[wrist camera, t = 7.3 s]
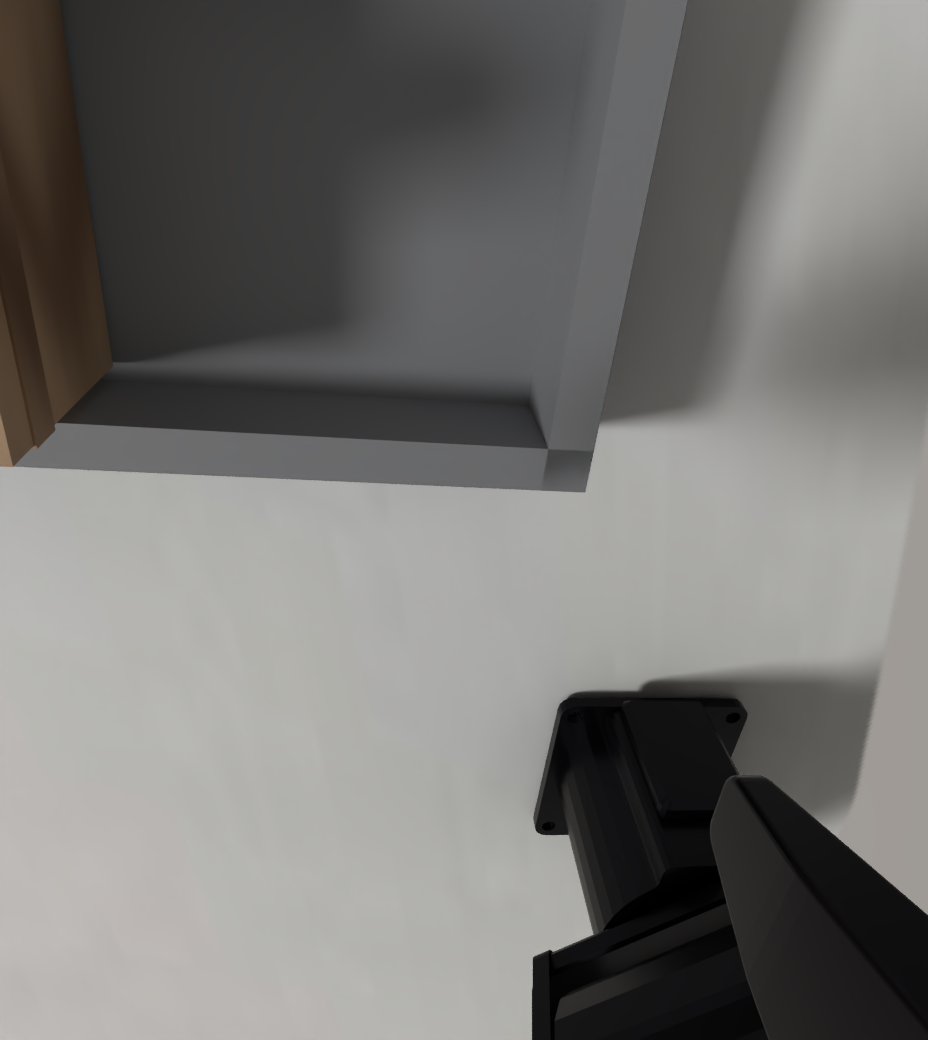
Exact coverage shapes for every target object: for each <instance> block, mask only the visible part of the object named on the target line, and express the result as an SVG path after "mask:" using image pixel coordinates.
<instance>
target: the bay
mask: <svg viewBox="0 0 928 1040" xmlns="http://www.w3.org/2000/svg"><path fill="white" fill-rule="evenodd" d="M59 2H60V9H61V16H62V22H63V29H64V36H65V43H66V50H67V56H68V63H69V70H70V77H71V84H72V90H73V97H74V104H75V111H76V118H77V124H78V131H79V138H80V145H81V152H82V158H83V165H84V172H85V179H86V186H87V192H88V199H89V206H90V213H91V220H92V226H93V233H94V240H95V247H96V254H97V260H98V267H99V274H100V281H101V288H102V295H103V301H104V308H105V315H106V322H107V329H108V335H109V342H110V349H111V356H112V363H113V367H112V368H111V369H110V370H109V371H108V372H107V373H106V374H105V375H104V376H103V377H102V378H101V379H100V380H99V381H98V382H97V383H96V384H95V385H94V386H93V387H92V388H91V389H90V390H89V391H88V392H87V393H86V394H85V395H84V396H83V397H82V398H81V399H80V400H79V401H78V402H77V403H76V404H75V405H74V406H73V407H72V408H71V409H70V410H69V411H68V412H67V413H66V414H65V415H64V416H63V417H62V418H61V419H60V420H59V421H58V422H57V423H56V424H55V431H54V432H53V433H52V434H51V435H50V436H49V437H48V439H47V440H46V441H45V442H44V443H43V444H42V445H41V446H40V447H39V448H38V449H30V450H29V451H28V452H27V453H26V454H25V455H24V456H23V457H22V458H21V459H20V460H19V461H18V462H17V463H16V464H15V465H14V466H15V467H37V468H59V469H81V470H103V471H125V472H147V473H169V474H191V475H213V476H235V477H257V478H279V479H301V480H323V481H345V482H367V483H389V484H411V485H433V486H455V487H477V488H499V489H521V490H543V491H565V492H585V490H586V485H587V481H588V476H589V471H590V466H591V462H592V457H593V452H594V447H595V442H596V438H597V433H598V428H599V423H600V418H601V414H602V409H603V404H604V399H605V395H606V390H607V385H608V380H609V375H610V371H611V366H612V361H613V356H614V351H615V347H616V342H617V337H618V332H619V328H620V323H621V318H622V313H623V308H624V304H625V299H626V294H627V289H628V284H629V280H630V275H631V270H632V265H633V260H634V256H635V251H636V246H637V241H638V237H639V232H640V227H641V222H642V217H643V213H644V208H645V203H646V198H647V193H648V189H649V184H650V179H651V174H652V170H653V165H654V160H655V155H656V150H657V146H658V141H659V136H660V131H661V126H662V122H663V117H664V112H665V107H666V103H667V98H668V93H669V88H670V83H671V79H672V74H673V69H674V64H675V59H676V55H677V50H678V45H679V40H680V36H681V31H682V26H683V21H684V16H685V12H686V7H687V2H688V0H59Z"/></svg>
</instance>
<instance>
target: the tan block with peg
mask: <svg viewBox="0 0 928 1040" xmlns="http://www.w3.org/2000/svg"><path fill="white" fill-rule="evenodd" d="M112 367H113V363H112V356H111V349H110V342H109V335H108V329H107V322H106V315H105V308H104V301H103V295H102V288H101V281H100V274H99V267H98V260H97V254H96V247H95V240H94V233H93V226H92V220H91V213H90V206H89V199H88V192H87V186H86V179H85V172H84V165H83V158H82V152H81V145H80V138H79V131H78V124H77V118H76V111H75V104H74V97H73V90H72V84H71V77H70V70H69V63H68V56H67V50H66V43H65V36H64V29H63V22H62V16H61V9H60V2H59V0H0V466H3V467H13V466H14V465H15V464H16V463H17V462H18V461H19V460H20V459H21V458H22V457H23V456H24V455H25V454H26V453H27V452H28V451H29V450H30V449H38V448H39V447H40V446H41V445H42V444H43V443H44V442H45V441H46V440H47V439H48V437H49V436H50V435H51V434H52V433H53V432H54V431H55V424H56V423H57V422H58V421H59V420H60V419H61V418H62V417H63V416H64V415H65V414H66V413H67V412H68V411H69V410H70V409H71V408H72V407H73V406H74V405H75V404H76V403H77V402H78V401H79V400H80V399H81V398H82V397H83V396H84V395H85V394H86V393H87V392H88V391H89V390H90V389H91V388H92V387H93V386H94V385H95V384H96V383H97V382H98V381H99V380H100V379H101V378H102V377H103V376H104V375H105V374H106V373H107V372H108V371H109V370H110V369H111V368H112Z"/></svg>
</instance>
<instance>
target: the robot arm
mask: <svg viewBox="0 0 928 1040" xmlns="http://www.w3.org/2000/svg"><path fill="white" fill-rule="evenodd" d="M573 712H577V713H575V714H571V713H573ZM746 719H747V712H746V710H745V708H744V706H743V705H742V703H741V702H740V701H739V700H737V699H719V698H569V699H567V700H565V701H563V702H562V703H561V704H560V705H559V707H558V711H557V715H556V719H555V724H554V728H553V733H552V737H551V742H550V746H549V750H548V755H547V759H546V764H545V768H544V773H543V777H542V781H541V786H540V790H539V795H538V799H537V804H536V808H535V812H534V817H533V818H534V825H535V829H536V831H537V832H538V833H540V834H542V835H569V837H570V842H571V846H572V850H573V854H574V858H575V862H576V866H577V870H578V874H579V878H580V882H581V886H582V890H583V894H584V898H585V902H586V906H587V910H588V914H589V918H590V922H591V926H592V930H593V934H594V935H592V936H590V937H587V938H585V939H583V940H580V941H578V942H576V943H573V944H571V945H569V946H566V947H564V948H562V949H559V950H557V951H555V952H553V951H551V950H548V951H546V952H544V953H541V954H539V955H537V956H534V957H533V989H532V1040H928V915H927V914H926V913H925V912H923V911H922V910H921V909H920V908H919V907H918V906H917V905H915V904H914V903H913V902H912V901H911V900H909V899H908V898H907V897H906V896H905V895H904V894H903V893H901V892H900V891H899V890H898V889H897V888H896V887H894V886H893V885H892V884H891V883H890V882H888V881H887V880H886V879H885V878H884V877H882V876H881V875H880V874H879V873H878V872H877V871H876V870H874V869H873V868H872V867H871V866H870V865H869V864H867V863H866V862H865V861H864V860H863V859H862V858H860V857H859V856H858V855H857V854H856V853H855V852H853V851H852V850H851V849H850V848H849V847H848V846H846V845H845V844H844V843H843V842H842V841H841V840H839V839H838V838H837V837H836V836H835V835H834V834H832V833H831V832H830V831H829V830H828V829H827V828H825V827H824V826H823V825H822V824H821V823H819V822H818V821H817V820H816V819H815V818H814V817H812V816H811V815H810V814H809V813H808V812H807V811H805V810H804V809H803V808H802V807H801V806H800V805H798V804H797V803H796V802H795V801H794V800H793V799H791V798H790V797H789V796H788V795H787V794H786V793H784V792H783V791H782V790H781V789H780V788H779V787H777V786H776V785H775V784H774V783H773V782H771V781H770V780H769V779H767V778H765V777H763V776H759V775H739V773H738V771H737V769H736V767H735V765H734V763H733V761H732V759H731V756H732V753H733V751H734V748H735V746H736V743H737V741H738V739H739V736H740V734H741V731H742V729H743V726H744V724H745V721H746Z"/></svg>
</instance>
